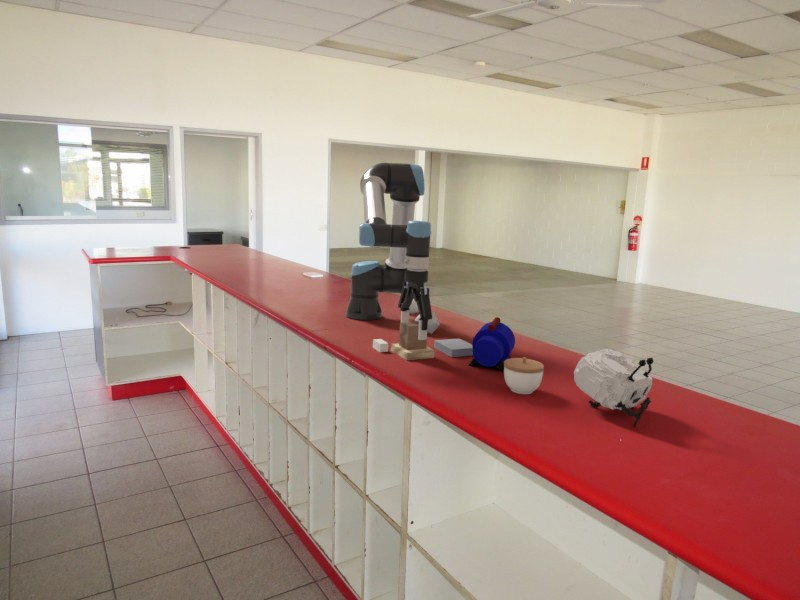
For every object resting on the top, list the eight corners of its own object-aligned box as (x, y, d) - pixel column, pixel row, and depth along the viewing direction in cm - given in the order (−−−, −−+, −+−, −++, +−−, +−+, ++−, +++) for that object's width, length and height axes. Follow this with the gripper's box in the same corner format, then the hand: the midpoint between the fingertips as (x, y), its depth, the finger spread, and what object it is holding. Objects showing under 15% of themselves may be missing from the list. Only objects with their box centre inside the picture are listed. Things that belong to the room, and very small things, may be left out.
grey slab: (433, 348, 195) (434, 340, 194) (458, 346, 199) (459, 338, 198) (451, 358, 184) (452, 349, 184) (477, 356, 188) (477, 347, 188)
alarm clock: (514, 364, 179) (518, 318, 177) (504, 374, 168) (508, 325, 166) (477, 358, 184) (481, 313, 182) (465, 367, 173) (469, 320, 171)
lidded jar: (494, 385, 158) (497, 353, 156) (526, 382, 162) (529, 351, 160) (516, 399, 148) (519, 364, 146) (549, 395, 152) (553, 361, 150)
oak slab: (390, 352, 189) (390, 343, 188) (416, 349, 193) (417, 341, 192) (406, 362, 178) (407, 353, 177) (434, 359, 182) (434, 350, 182)
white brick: (372, 348, 191) (372, 339, 190) (380, 347, 192) (381, 338, 192) (379, 352, 186) (380, 344, 185) (388, 352, 187) (388, 343, 186)
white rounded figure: (426, 291, 253) (405, 292, 245) (438, 307, 247) (417, 308, 239) (418, 305, 258) (397, 306, 250) (429, 321, 252) (408, 323, 244)
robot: (621, 442, 133) (652, 380, 125) (557, 393, 147) (582, 334, 139) (659, 427, 143) (690, 368, 136) (596, 382, 157) (621, 327, 149)
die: (442, 333, 218) (433, 310, 221) (442, 327, 209) (433, 303, 213) (421, 340, 217) (412, 317, 221) (420, 334, 209) (411, 310, 212)
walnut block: (398, 345, 186) (400, 321, 185) (417, 343, 189) (418, 320, 188) (407, 350, 181) (408, 325, 179) (426, 348, 184) (427, 324, 182)
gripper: (390, 264, 189) (387, 326, 193) (424, 275, 168) (420, 345, 172) (410, 264, 193) (406, 325, 197) (446, 274, 171) (441, 343, 175)
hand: (413, 334), depth 184 cm, fingers open, 12 cm apart
